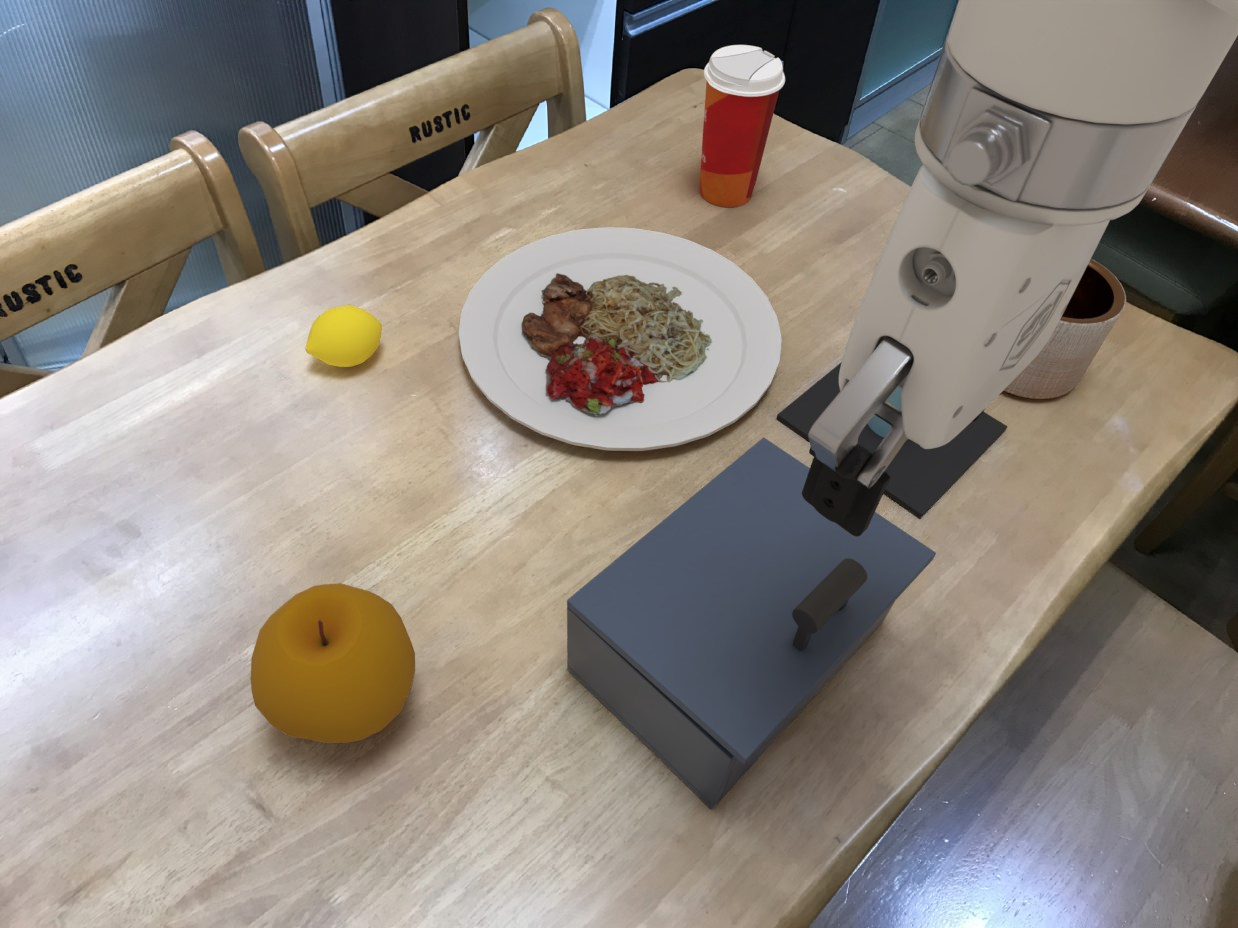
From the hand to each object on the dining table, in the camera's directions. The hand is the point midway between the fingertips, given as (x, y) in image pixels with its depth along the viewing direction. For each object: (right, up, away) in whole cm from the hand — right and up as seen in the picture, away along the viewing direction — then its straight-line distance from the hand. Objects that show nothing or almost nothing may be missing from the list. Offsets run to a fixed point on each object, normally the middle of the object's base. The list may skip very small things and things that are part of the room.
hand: (893, 456), depth 42 cm
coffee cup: (-1, +30, +58) cm, 66 cm away
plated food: (-13, +11, +42) cm, 46 cm away
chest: (-5, -14, +23) cm, 27 cm away
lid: (-4, -8, +15) cm, 18 cm away
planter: (+25, +9, +43) cm, 51 cm away
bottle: (+11, +3, +37) cm, 38 cm away
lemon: (-38, +9, +39) cm, 55 cm away
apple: (-31, -17, +19) cm, 40 cm away
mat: (+11, +3, +37) cm, 39 cm away
